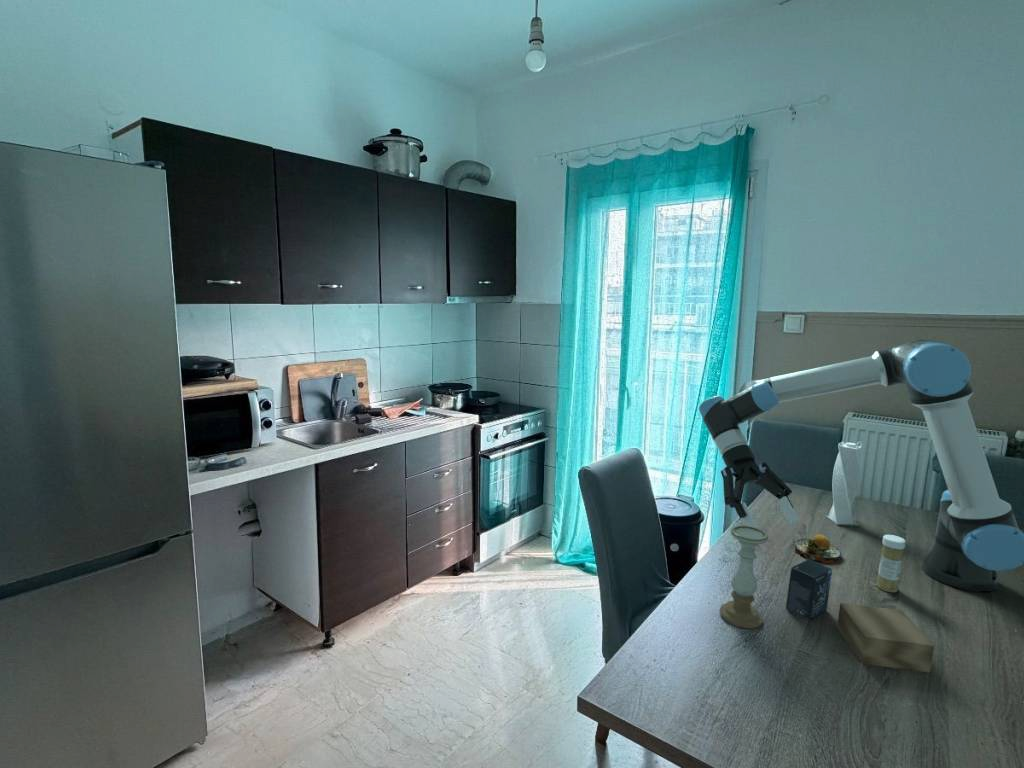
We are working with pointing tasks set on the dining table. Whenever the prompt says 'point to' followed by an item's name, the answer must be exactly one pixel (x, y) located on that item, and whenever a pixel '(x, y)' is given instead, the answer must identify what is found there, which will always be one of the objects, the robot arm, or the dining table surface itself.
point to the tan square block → (885, 637)
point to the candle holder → (744, 580)
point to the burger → (818, 549)
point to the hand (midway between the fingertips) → (774, 526)
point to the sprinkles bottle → (890, 563)
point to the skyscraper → (845, 483)
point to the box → (808, 589)
